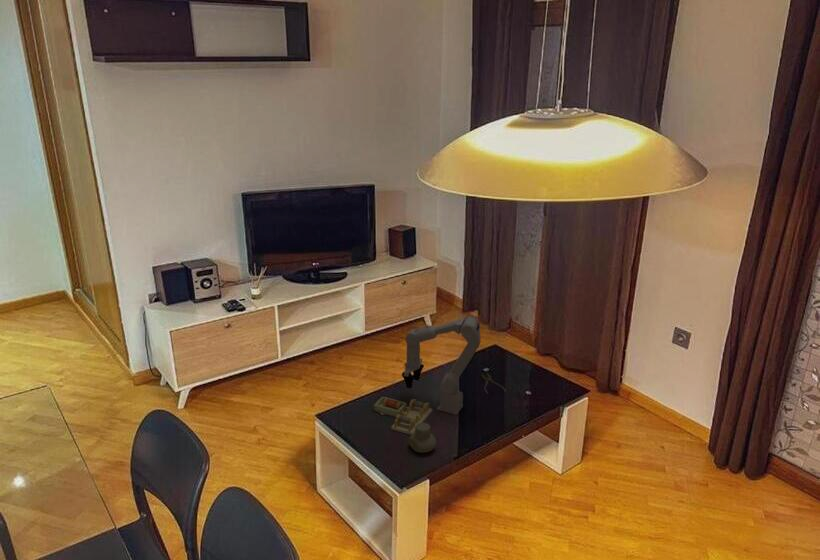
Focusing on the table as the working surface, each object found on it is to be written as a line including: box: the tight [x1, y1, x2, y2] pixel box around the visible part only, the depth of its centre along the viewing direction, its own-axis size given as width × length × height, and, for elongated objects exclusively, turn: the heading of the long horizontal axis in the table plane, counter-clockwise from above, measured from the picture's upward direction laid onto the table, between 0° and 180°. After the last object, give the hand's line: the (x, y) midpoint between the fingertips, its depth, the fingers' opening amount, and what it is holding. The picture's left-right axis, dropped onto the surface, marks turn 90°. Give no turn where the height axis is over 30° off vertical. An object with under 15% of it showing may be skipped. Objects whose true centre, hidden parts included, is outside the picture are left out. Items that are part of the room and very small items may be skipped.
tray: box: [373, 395, 408, 418], centre depth 269 cm, size 12×8×3 cm, turn 64°
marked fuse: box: [383, 399, 401, 409], centre depth 270 cm, size 8×3×3 cm
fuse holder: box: [391, 398, 433, 436], centre depth 262 cm, size 10×20×4 cm, turn 154°
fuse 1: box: [395, 414, 415, 426], centre depth 255 cm, size 8×3×3 cm, turn 64°
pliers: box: [480, 372, 507, 395], centre depth 292 cm, size 10×1×20 cm
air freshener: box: [408, 422, 437, 454], centre depth 242 cm, size 11×8×10 cm
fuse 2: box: [409, 398, 429, 410], centre depth 267 cm, size 8×3×3 cm, turn 64°
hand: (412, 383), depth 272 cm, fingers open, 7 cm apart
